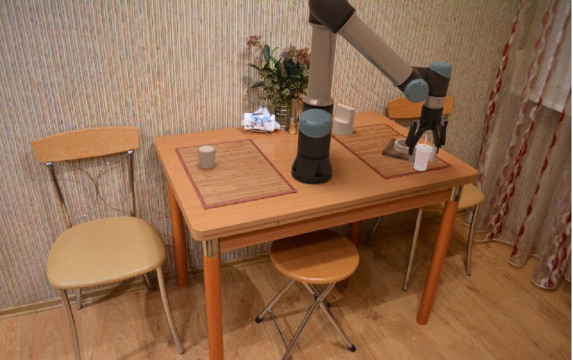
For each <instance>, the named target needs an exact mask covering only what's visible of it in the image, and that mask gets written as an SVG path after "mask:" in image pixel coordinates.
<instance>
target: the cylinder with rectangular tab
mask: <svg viewBox="0 0 573 360" xmlns="http://www.w3.org/2000/svg"><path fill="white" fill-rule="evenodd" d="M355 113H356V108H354V107H352V106H349V105H346V104H343V103H337V104H336V105H335V115H334V117H333V127H332V132H333V134H335V135H337V136H343V137H347V136H348V137H349V136H352V135H353V133H354V126H355Z"/></svg>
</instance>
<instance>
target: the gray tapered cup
mask: <svg viewBox="0 0 573 360" xmlns="http://www.w3.org/2000/svg"><path fill="white" fill-rule="evenodd" d="M196 151H197V158H198V162H199V167H200V168H201V169H203V170H211V169H213V168H215V167H216V166H215V165H216V155H217V154H216V151H217V148H216V146H214V145H212V144H211V145H210V144H202V145H200V146H198V147H197V149H196Z"/></svg>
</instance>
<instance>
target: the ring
mask: <svg viewBox="0 0 573 360" xmlns="http://www.w3.org/2000/svg"><path fill="white" fill-rule="evenodd" d="M406 138H407V137H405V138H403V137H402V138H396V139H397V140H396V141H395V143H394V148H395V150H396V151H398V152H400V153H405V154H408V150H409V147H404V146H401V145H406V144H405V141H406ZM418 144H420V142H419V141H418V142H417V144H416V145H418ZM415 148H416V146H415ZM415 153H416V152H415Z"/></svg>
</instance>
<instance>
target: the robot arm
mask: <svg viewBox="0 0 573 360" xmlns="http://www.w3.org/2000/svg"><path fill="white" fill-rule="evenodd" d="M308 8H309V10H308V11H309V13H308V14H309V15H308V24H309V25H310V26H311V28H312V30H311V31H312V32H311V43H310V44H311V45H310V46H311V47H310V55H309V56H310V58H309V69H308V70H309V71H308V82H307V83H308V84H307V93H306V95H304V97H303V98H302V107H301V108H302V109H301V114H300V116H299V119H298V133H297V134H298V135H297V150H296V151H297V152H296V156H295V158H294V161H293V163H292V165H291V169H290V174H291V176H292V178H293V179H294V180H297V181H298V182H301V183H304V184H308V185H320V184H324V183H327V182H329V181H330V180H331V179H332V177H333V167H332V162H331V159H330V151H331V150H330V149H331V142H332V141H331V140H332V132H333V125H334V114H333V113H334V108H335V107H334V105H335V99H333V97H332V96H331V95H332V85H333V77H334V68H335V67H334V66H335V58H336V49H337V48H336V47H337V37H338V35H339V36H341V37H342V38H343V39H344V40H345V41H346V42H347V43H348V44H350V45H351V46H352V47H353V48H354V49H355V50H356V51H357V52H358V53H359V54H360V55H362V57H364V58H365V60H367V61H368V62H369V63H370V64H371V65H372V66H374V67H375V68H376V69H377V70H378V72H380V73H381V74H382V75H383V76H384V77H385V78H387V79H388V80H389V81H390V82H391V83H392V86H393V87H395V88H397V89H398V90H399V91H400V92H402V94H404V97H405V98H406V99H407V101H409V102H411V103H413V104H417V103H422V105H421V109H420V117H419V118H418V119H416V120H415V119H411V121H410V128H409V130H408V133H407V136H406V137H405V138H406V141H405V144H406V145H407V146H408V147H409V150H408V154H409V160H408V161H407V162H409V163H410V165H413V164H414V157H415V152H416V148H415V146H416V144H417V142H418V143H419V141H420V139H422V138H421V137H422V136H423V135H424V134H425V133H426V131H431V132H432V133H431V134H432V137H433V142H434V144H432V146H431V147H432V148H433V149H432V151H431V153H430V157H429V160H428V161H430V162H431V164H434V163H435V161H436V156H437V155H438V154H439V151H440V149H441V148H442V146H445V145H446V142H447V141H446V139H447V127H448V125H449V121H448V120H446V119H445V118H442V117H443V113H444V107H445V104H446V99H447V94H448V91H449V87H450V84H451V83H450V82H451V79H452V73H453V65H452V64H451V63H450V62H447V61H441V60H438V61H436V60H434V61H431V63H430V65H429V66H427V67H426V66H425V67H424V66H413V65H410V64H408V63H407V62H406V61H405V60H404V59H403V58H402V57H401V56H400V55H399V54H398V53H397V52H396V51H395V50H394V49H393V48H392V47H391V46H390V45H389V44H387V43H386V42H385V41H384V39H382V38H381V37H380V36H379V35H378V34H377V33H376V32H375V31H374V30H373V29H372V28H371V27H369V26H368V24H366V22H364V21H363V20H362V19H361V18H360V17H359V16H358V15H357V9H356V8H355V7H354V6H353V5H352V4H351V3H350V2H349V1H348V0H308ZM438 126H439V129H438Z"/></svg>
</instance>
